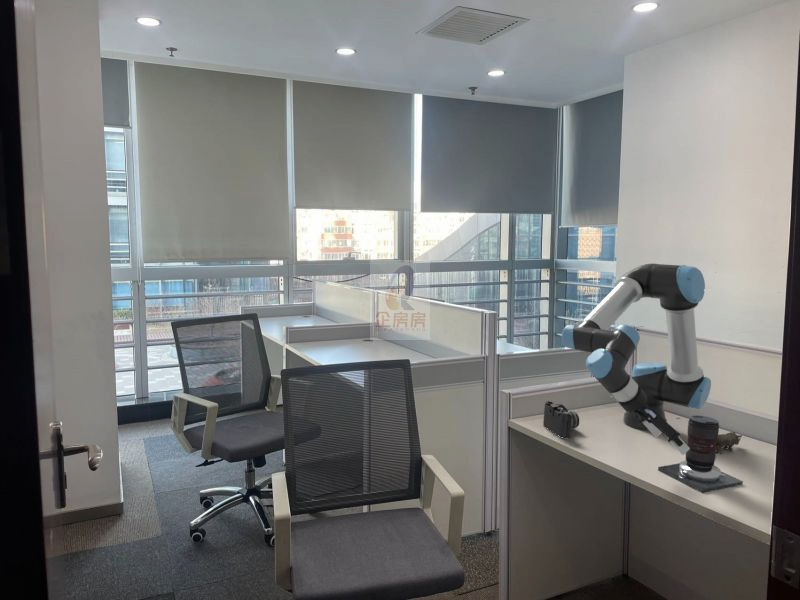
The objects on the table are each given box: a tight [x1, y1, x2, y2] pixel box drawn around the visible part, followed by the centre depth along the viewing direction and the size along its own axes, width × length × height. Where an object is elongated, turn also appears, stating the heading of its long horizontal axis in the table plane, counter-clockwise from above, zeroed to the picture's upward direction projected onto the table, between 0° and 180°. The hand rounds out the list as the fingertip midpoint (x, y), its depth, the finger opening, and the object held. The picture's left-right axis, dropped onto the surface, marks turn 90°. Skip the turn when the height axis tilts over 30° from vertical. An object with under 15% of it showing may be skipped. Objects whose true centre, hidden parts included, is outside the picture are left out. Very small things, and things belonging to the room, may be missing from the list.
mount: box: [657, 459, 744, 494], centre depth 175 cm, size 16×16×3 cm
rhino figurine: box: [716, 431, 743, 455], centre depth 197 cm, size 4×14×6 cm, turn 118°
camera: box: [542, 400, 580, 439], centre depth 211 cm, size 14×11×10 cm
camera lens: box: [685, 415, 720, 472], centre depth 173 cm, size 8×8×15 cm
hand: (672, 442), depth 172 cm, fingers open, 13 cm apart
